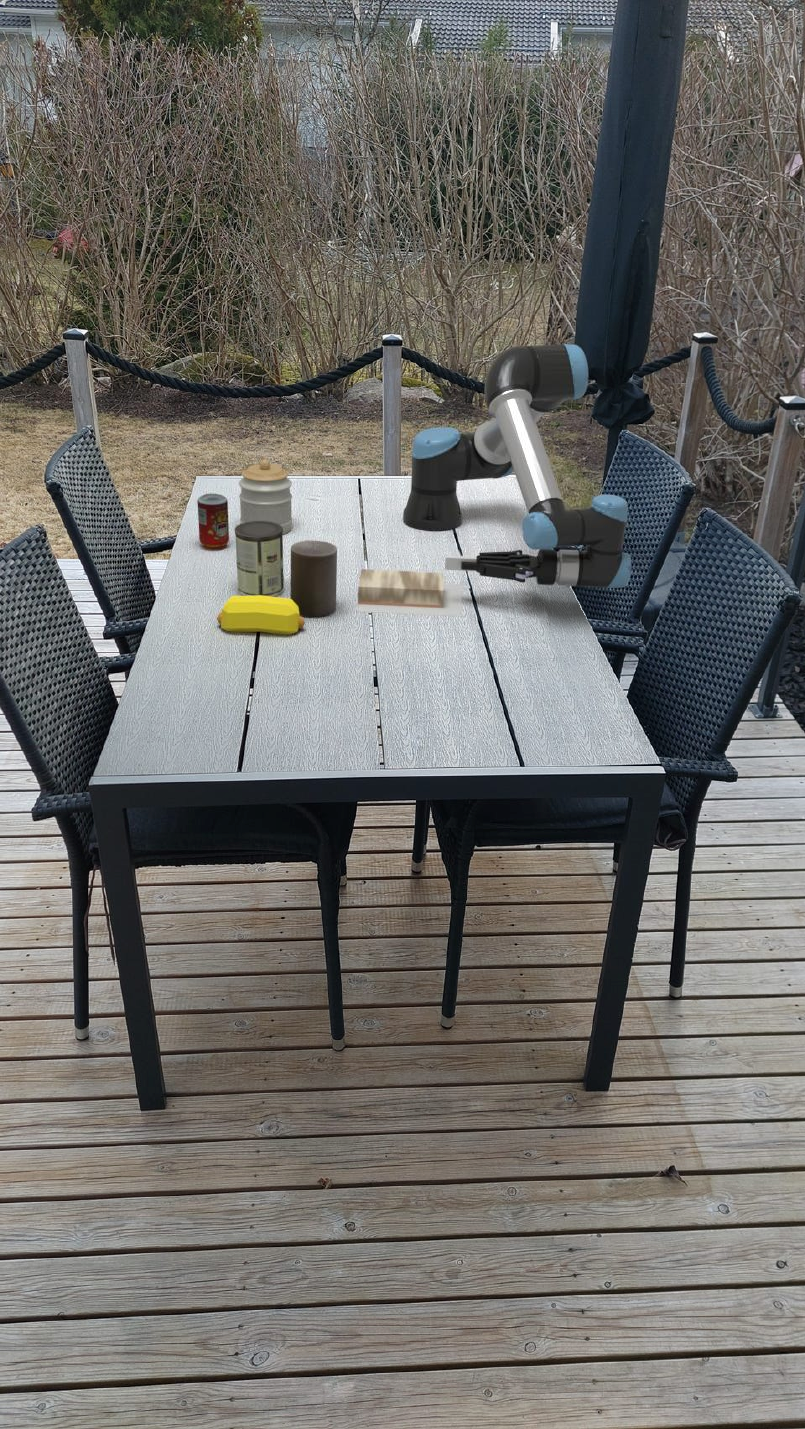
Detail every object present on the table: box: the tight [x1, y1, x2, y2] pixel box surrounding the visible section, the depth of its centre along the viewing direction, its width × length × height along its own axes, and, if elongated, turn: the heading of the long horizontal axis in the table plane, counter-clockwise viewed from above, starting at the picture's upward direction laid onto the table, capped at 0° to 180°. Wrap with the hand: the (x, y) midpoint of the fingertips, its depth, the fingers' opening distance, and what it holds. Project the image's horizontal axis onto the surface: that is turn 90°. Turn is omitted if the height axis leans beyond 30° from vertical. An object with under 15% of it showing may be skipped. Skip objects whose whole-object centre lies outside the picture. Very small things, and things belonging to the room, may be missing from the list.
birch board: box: [357, 568, 444, 608], centre depth 240 cm, size 4×10×18 cm
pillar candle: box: [289, 539, 338, 619], centre depth 232 cm, size 10×10×15 cm
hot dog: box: [216, 595, 306, 635], centre depth 224 cm, size 18×7×8 cm
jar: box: [238, 458, 293, 535], centre depth 274 cm, size 13×13×18 cm
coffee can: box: [234, 521, 285, 597], centre depth 240 cm, size 10×10×14 cm
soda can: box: [196, 493, 230, 551], centre depth 263 cm, size 7×7×12 cm
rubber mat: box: [357, 582, 463, 618], centre depth 241 cm, size 22×18×1 cm
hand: (445, 562), depth 236 cm, fingers closed
